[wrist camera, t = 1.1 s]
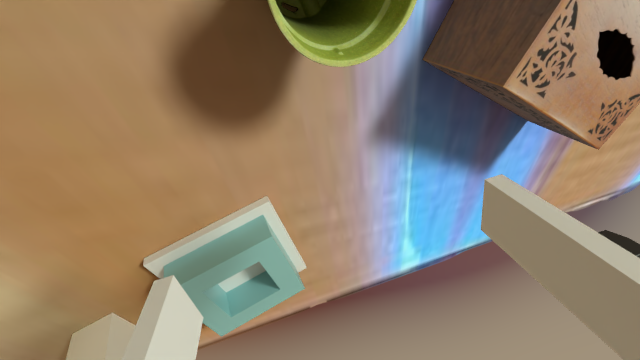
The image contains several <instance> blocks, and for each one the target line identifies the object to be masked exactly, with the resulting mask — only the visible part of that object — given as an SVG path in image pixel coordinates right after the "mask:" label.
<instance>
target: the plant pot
mask: <svg viewBox="0 0 640 360" xmlns="http://www.w3.org/2000/svg"><path fill="white" fill-rule="evenodd" d="M416 1H417V0H267V2H268V4H269V7H270V10H271V13H272V15H273V17H274V19H275V22H276V23H277V25H278V27H279V29H280V30H281V32H282V34H283V35H284V36H285V38H286V39H287V40H288V41H289V43H290V44H291V45H292V46H293V47H294V48H295V49H296V50H297V51H299V52H300V53H301V54H302V55H304V56H305V57H307V58H308V59H310V60H312V61H314V62H317V63H319V64H323V65H327V66H333V67H347V66H352V65H356V64H360V63H363V62H365V61H367V60H369V59H371V58H372V57H374V56H376V55H378V54H379V53H381V52H382V51H383V50H384V49H385V48H386V47H387V46H389V45H390V44H391V43H392V41H393V40H394V39H395V38H396V37H397V35H398V34H399V33H400V31H401V30H402V28H403V27H404V26H405V24H406V22H407V21H408V19H409V17H410V15H411V13H412V11H413V9H414V6H415V4H416ZM282 2H285V3H286V4H288V5H290V6H293V7H297V8H298V11H296V12H292V11H290V10H287V9H285V8H284V7H283V6H282Z"/></svg>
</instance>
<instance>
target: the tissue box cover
mask: <svg viewBox="0 0 640 360" xmlns="http://www.w3.org/2000/svg"><path fill="white" fill-rule="evenodd" d="M423 60H424V61H425V62H427V63H429V64H431V65H432V66H434V67H436V68H438V69H439V70H441V71H443V72H444V73H446V74H448V75H450V76H451V77H453V78H455V79H457V80H458V81H460V82H462V83H463V84H465V85H467V86H469V87H470V88H472V89H474V90H476V91H477V92H479V93H481V94H482V95H484V96H486V97H488V98H489V99H491V100H493V101H495V102H496V103H498V104H500V105H501V106H503V107H505V108H507V109H508V110H510V111H512V112H514V113H515V114H517V115H519V116H520V117H522V118H524V119H526V120H527V121H530V122H532V123H535V124H537V125H539V126H542V127H544V128H547V129H549V130H552V131H554V132H557V133H559V134H561V135H564V136H566V137H569V138H571V139H574V140H576V141H579V142H581V143H583V144H586V145H588V146H591V147H593V148H596V149H598V150H599V149H600V147H601V146H602V145H603V144H604V143H605V142H606V141H607V140H608V138H609V137H610V136H611V135H612V134H613V133H614V132H615V130H616V129H617V128H618V127H619V126H620V125H621V124H622V123H623V121H624V120H625V119H626V118H627V117H628V116H629V115H630V114H631V112H632V111H633V110H634V109H635V108H636V107H637V106H638V105H639V103H640V0H454V2H453V3H452V5H451V7H450V9H449V11H448V13H447V15H446V17H445V18H444V20H443V22H442V24H441V26H440V28H439V30H438V31H437V33H436V35H435V37H434V39H433V41H432V43H431V45H430V46H429V48H428V50H427V52H426V54H425V56H424V58H423Z"/></svg>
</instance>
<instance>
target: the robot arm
mask: <svg viewBox="0 0 640 360" xmlns="http://www.w3.org/2000/svg"><path fill="white" fill-rule="evenodd" d="M481 230H482V231H483V232H484V233H485V234H486V235H487V236H489V237H490V238H491V239H492V240H493V241H494V242H495V243H496V244H497V245H498V246H499V247H501V248H502V249H503V250H504V251H505V252H506V253H507V254H508V255H509V256H510V257H512V258H513V259H514V260H515V261H516V262H517V263H518V264H519V265H520V266H521V267H523V268H524V269H525V270H526V271H527V272H528V273H529V274H530V275H531V276H532V277H533V278H534V279H536V280H537V281H538V282H539V283H540V284H541V285H542V286H543V287H544V288H545V289H547V290H548V291H549V292H550V293H551V294H552V295H553V296H554V297H555V298H556V299H558V300H559V301H560V302H561V303H562V304H563V305H564V306H565V307H566V308H567V309H569V311H571V312H572V313H573V314H574V315H575V316H576V317H577V318H578V319H579V320H580V321H582V322H583V323H584V324H585V325H586V326H587V327H588V328H589V329H590V330H591V331H592V332H594V333H595V334H596V335H597V336H598V337H599V338H600V339H601V340H602V341H604V342H605V343H606V344H607V345H608V346H609V347H610V348H611V349H612V350H613V351H614V352H615V353H617V354H618V355H619V356H620V357H621V358H622V359H623V360H640V244H638V243H636V242H635V241H633V240H631V239H629V238H627V237H624V236H621V235H618V234H615V233H613V232H610V231H607V230H604V231H601V232H598V233H597V232H596V231H594V230H593V229H591V228H589V227H588V226H586V225H584V224H583V223H581V222H579V221H577V220H576V219H574V218H573V217H571V216H569V215H568V214H566V213H565V212H563V211H561V210H560V209H558V208H556V207H555V206H553V205H551V204H550V203H548V202H546V201H545V200H543V199H542V198H540V197H538V196H537V195H535V194H533V193H532V192H530V191H528V190H527V189H525V188H523V187H522V186H520V185H519V184H517V183H515V182H514V181H512V180H510V179H509V178H507V177H505V176H504V175H502V174H501V175H498V176H495V177H492V178H488V179H485V183H484V196H483V209H482V222H481ZM202 322H203V316H202V315H201V313H200V312H199V310H198V309H197V308H196V306H195V305H194V303H193V302H192V300H191V299H190V298H189V296H188V295H187V293H186V292H185V291H184V289H183V288H182V286H181V285H180V284H179V282H178V281H177V279H176V278H175V276H174V275H172V276H169V277H165V278H162V279H159V280H156V281H154V282H153V285H152V287H151V290H150V292H149V295H148V297H147V300H146V302H145V304H144V307H143V309H142V312H141V314H140V317H139V319H138V321H137V324H136V326H135V329H134V331H133V334H132V336H131V339H130V341H129V343H128V346H127V348H126V351H125V353H124V356H123V358H122V360H195V359H196V354H197V349H198V343H199V338H200V333H201V327H202Z"/></svg>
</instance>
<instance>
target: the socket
mask: <svg viewBox="0 0 640 360" xmlns="http://www.w3.org/2000/svg"><path fill="white" fill-rule="evenodd" d="M143 266H144V267H145V268H147V269H148V270H149V271H151V272H152V273H153V274H154V275H156V276H157V277H158V278H160V279H162V278H165V277H169V276H172V275H174V276H175V278H176V279H177V281H178V282H179V284H180V285H181V286H182V288H183V289H184V291H185V292H186V293H187V295H188V296H189V298H190V299H191V300H192V302H193V303H194V305H195V306H196V308H197V309H198V310H199V312H200V313H201V315H202V316H203V322H202V323H204V324H205V325H206V326H208V327H209V328H211V329H212V330H213V331H215V332H216V333H217V334H219V335H220V336H223V335H225V334H227V333H228V332H230V331H232V330H234V329H235V328H237V327H239V326H241V325H242V324H244V323H246V322H248V321H249V320H251V319H253V318H255V317H256V316H258V315H260V314H262V313H263V312H265V311H267V310H268V309H270V308H272V307H274V306H275V305H277V304H279V303H281V302H282V301H284V300H286V299H288V298H289V297H291V296H293V295H295V294H296V293H298V292H300V291H302V290H303V289H305V287H304V285H303V283H302V281H301V278H300V276H299V274H298V272H300V271H302V270H304V269H305V268H307V267H306V265H305V263H304V261H303V259H302V257H301V255H300V254H299V252H298V250H297V248H296V247H295V245H294V243H293V241H292V239H291V238H290V236H289V234H288V232H287V230H286V229H285V227H284V225H283V223H282V222H281V220H280V218H279V216H278V214H277V213H276V211H275V209H274V207H273V206H272V204H271V202H270V200H269V198H268V197H267V196H265V197H263V198H261V199H259V200H258V201H256V202H254V203H252V204H250V205H248V206H246V207H244V208H242V209H240V210H238V211H236V212H234V213H232V214H230V215H228V216H226V217H224V218H222V219H220V220H218V221H216V222H214V223H212V224H210V225H208V226H207V227H205V228H203V229H201V230H199V231H197V232H195V233H193V234H191V235H189V236H187V237H185V238H183V239H181V240H179V241H177V242H175V243H173V244H171V245H169V246H167V247H165V248H163V249H161V250H159V251H157V252H156V253H154V254H152V255H150V256H148V257H146V258H144V263H143Z"/></svg>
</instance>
